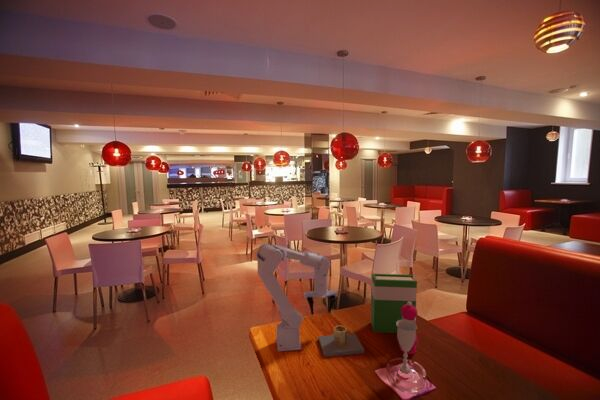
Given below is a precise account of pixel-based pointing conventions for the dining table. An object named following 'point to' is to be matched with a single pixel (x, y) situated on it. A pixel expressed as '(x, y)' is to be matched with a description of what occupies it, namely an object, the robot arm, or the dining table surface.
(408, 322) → the chalice
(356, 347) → the pin board
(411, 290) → the hardback book
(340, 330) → the wooden collar
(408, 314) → the pepper mill
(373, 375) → the dining table surface
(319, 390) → the dining table surface
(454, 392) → the dining table surface
